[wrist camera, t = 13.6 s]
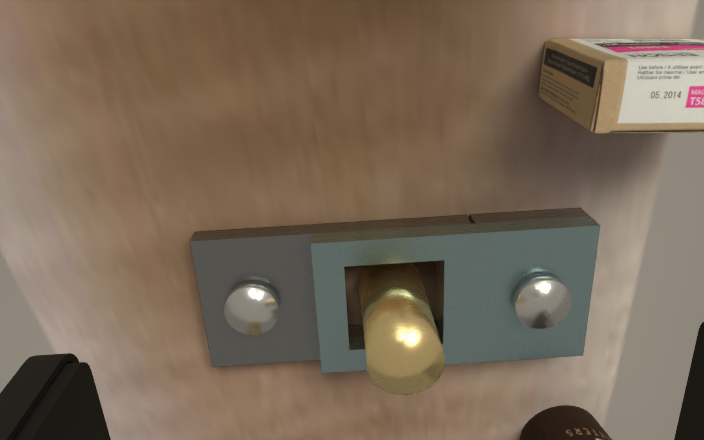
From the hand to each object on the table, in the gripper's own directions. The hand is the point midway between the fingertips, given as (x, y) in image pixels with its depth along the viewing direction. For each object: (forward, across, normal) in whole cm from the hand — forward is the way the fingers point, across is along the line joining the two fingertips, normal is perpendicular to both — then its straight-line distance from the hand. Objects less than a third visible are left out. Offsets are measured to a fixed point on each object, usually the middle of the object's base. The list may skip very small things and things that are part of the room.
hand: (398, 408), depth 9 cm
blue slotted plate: (+28, -6, +14) cm, 32 cm away
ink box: (+29, -17, 0) cm, 33 cm away
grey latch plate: (+28, +1, +14) cm, 32 cm away
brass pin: (+28, -2, +14) cm, 32 cm away
